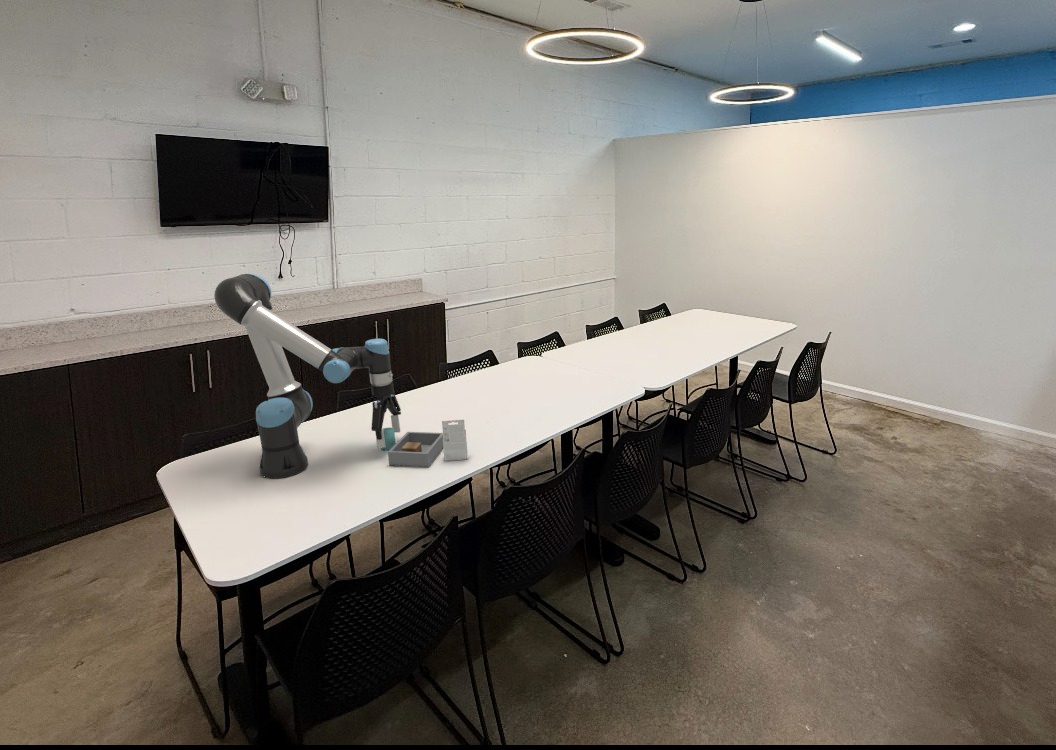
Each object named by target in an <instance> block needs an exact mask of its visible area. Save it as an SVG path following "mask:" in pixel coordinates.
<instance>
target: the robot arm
mask: <svg viewBox="0 0 1056 750" xmlns="http://www.w3.org/2000/svg"><path fill="white" fill-rule="evenodd" d="M213 295H214V301H215V304H216V305H217V307H218V309H219V310H220V311H221V312H222V313H223V314H224V315H226V316H227V317H228V318H229V319H231V320H233V321H234V322H236V323H237V324H239V325H241V326H242V327H245V331H246V333H247V334H248V337H249V340H250V342H251V345H252V348H253V350H254V353H255V356H256V358H257V361H258V363H259V365H260V368H261V370H262V374H263V375H264V378H265V381H266V384H267V385H268V387H269V388H268V392H267V393H266V397H267V399H268V400H265V401H263V402H261V403H260V404H259V405H257V407H256V408H255V409H256V410H255V422H256V425H257V429H258V435H259V439H260V445H261V456H260V463H259V472H260V473H261V474H260V476H262V477H263V476H265V477H264V478H266V477H268V478H267V479H281V478H282V479H284V478H288V477H293V476H295V475H297V474H300V473H302V472H303V471H305V470H306V469H307V468H308V467H309V461H308V456H307V455H306V453H305V451H304V449H303V448H302V446H301V444H300V438H299V432H298V428H299V427H300V426H301V425H302V424H303V422H304V421H306V420H307V419H308V418H309V417H310V415H311V412H312V410H313V407H314V406H313V404H314V403H313V398H312V397H311V394H310V393H309V392H308V391H306V390H304V389H303V386H302V384H301V382H298V381H296V380H295V377H294V375H293V373H292V370H291V367H290V365H289V362H288V359H287V356H286V354H285V351H284V349H285V350H287V351H289V352H290V353H292V354H293V355H295V356H297V357H299V358H300V359H302V360H303V361H305V362H307V363H308V364H310V366H311V365H312V367H314V368H316V369H317V370H319V371H321V372H322V373H323V376H324V378H325V379H326V380H327V381H328V382H329V383H332V384H340V383H343V382H344V381H345V380H346V379H347V378H349V377H350V376H351V374H352V373H353V371H355V370H356V369H359V370H360V369H368V374H369V382H370V384H371V385H370V388H371V394H372V396H373V397H375V398H376V401H373V402H372V403H371V404H372V415H371V416H372V417H371V418H372V419H371V427H370V428H371V431H372V432H375V437H376V438H375V439H376V445H377V448H382V447H383V448H385V447H386V445H385V438H384V431H383V424H384V419H385V414H386V413H387V410H388V411H389V412H390V414H391V415H390V420H391V428H394V432H395V433H401V425H400V418H399V417H400V416H399V415H402V412H401V410H402V409H401V406H400V404H399V401H398V398H397V397H396V392H395V389H394V383H393V376H394V373H392V367H391V358H390V357H391V355H390V350H389V346H388V341H387V340H386V339H384V338H372V339H368V340H366V341H365V343H364V345H363V346H352V347H351V346H350V347H349V346H348V347H337V348H336V347H335V348H332V349H331V348H330V347H328V346H327V345H325V344H324V343H323V342H320V341H319V340H318V339H315V338H314V337H313V336H311V335H309V334H308V333H307V332H305V331H303V330H301V329H300V328H299V327H297V326H295V325H294V324H292V323H290V321H287V320H286V319H285V318H283V317H281V316H280V315H279V314H276V313H275V312H273V311H274V310H273V306H272V303H271V301H270V300H271V298H272V288H271V286H270V284H269V283H268V281H267V280H266V279H265V278H264V277H262V276H260V275H258V274H255V273H241V274H239V275H236V276H233V277H229V278H225V279H224V280H222V281H220V282H219V283H218V284H217V286H216V287H215V290H214V294H213ZM283 348H284V349H283Z"/></svg>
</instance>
